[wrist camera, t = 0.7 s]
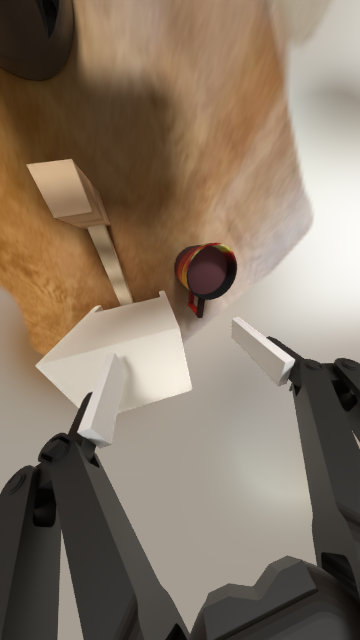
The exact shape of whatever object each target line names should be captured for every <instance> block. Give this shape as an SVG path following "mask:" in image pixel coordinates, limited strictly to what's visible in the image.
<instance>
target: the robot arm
mask: <svg viewBox="0 0 360 640" xmlns="http://www.w3.org/2000/svg"><path fill="white" fill-rule="evenodd" d="M72 38H73V7H72V0H0V67H2V68H3V69H5V70H7V71H9V72H11V73H13V74H15V75H17V76H19V77H22V78H26V79H30V80H44V79H48V78H50V77H52V76H54V75H55V74H56V73H58V72H59V71H60V70H61V68H62V67H63V66H64V64H65V62H66V60H67V58H68V55H69V52H70V49H71V44H72ZM232 338H233V339H234V341H235V342H236V343H237V344H238V345H239V346H240V347H241V348H242V349H243V350H244V351H245V352H246V353H247V354H248V355H249V356H250V357H251V358H252V359H253V361H254V362H255V363H256V364H257V365H258V366H259V367H260V368H261V369H262V370H263V371H264V372H265V373H266V374H267V375H268V377H269V378H270V379H271V380H272V381H273V382H274V383H275V384H276V385H277V386H281V385H284V384H286V383H287V381H288V379H289V380H290V381H291V382H292V384H291V386H290V389H289V391H291V390H292V391H293V397H294V403H295V409H296V415H297V421H298V427H299V433H300V438H301V444H302V451H303V456H304V463H305V469H306V474H307V480H308V486H309V493H310V499H311V505H312V511H313V520H312V534H313V542H314V548H315V555H316V561H317V566H316V565H314V564H311V563H308V562H305V561H303V560H300V559H296V558H293V557H290V556H285V557H283V558H281V559H279V560H277V561H275V562H273V563H271V564H269V565H268V566H267V568H266V570H265V571H264V572H263V574H262V575H261V577H260V578H259V579H258V581H257V582H256V584H255V585H254V586H252V587H250V586H243V585H236V584H227V585H225V586H223V587H220V588H218V589H216V590H214V591H212V592H210V593H209V594H208V596H207V599H206V602H205V603H204V605H203V606H202V608H201V610H200V612H199V613H198V616H197V618H196V621H195V623H194V626H193V628H192V631H191V633H189V632H188V630H187V628H186V626H185V624H184V622H183V620H182V618H181V616H180V614H179V612H178V610H177V608H176V606H175V604H174V602H173V600H172V598H171V597H170V595H169V594H168V592H167V591H166V590H165V589H164V588H163V587H162V586H161V584H160V582H159V581H158V579H157V577H156V575H155V573H154V571H153V569H152V567H151V565H150V563H149V561H148V558H147V556H146V554H145V552H144V550H143V548H142V546H141V544H140V542H139V540H138V538H137V536H136V534H135V532H134V530H133V528H132V526H131V524H130V522H129V520H128V518H127V516H126V514H125V511H124V509H123V507H122V506H121V503H120V502H119V499H118V497H117V495H116V493H115V491H114V489H113V487H112V485H111V483H110V481H109V479H108V477H107V475H106V473H105V471H104V469H103V467H102V465H101V463H100V460H99V458H98V456H97V454H96V453H95V452H94V451H95V448H96V446H97V447H99V448H103V447H106V446H109V445H111V443H112V438H113V433H114V428H115V423H116V417H117V412H118V407H119V402H120V397H121V391H122V386H123V381H124V376H125V371H126V370H125V368H124V366H123V365H122V363H121V361H120V360H119V358H118V357H117V355H116V353H112V354H108V355H107V357H106V360H105V362H104V365H103V368H102V370H101V373H100V375H99V378H98V380H97V383H96V385H95V388H94V391H93V392H90V393H88V394H87V395H86V397H85V398H84V399H83V401H82V403H81V406H80V408H79V410H78V412H77V415H76V417H75V419H74V422H73V424H72V426H71V428H70V431H69V433H68V435H67V434H65V433H59V434H57V435H55V436H54V437H52V438H51V439H50V440H49V441H48V442H47V443H46V444H45V446H44V447H43V448H42V450H41V452H40V454H39V457H38V461H39V462H41V463H40V464H39V465H37V466H36V467H33V466H31V465H29V466H25V467H23V468H22V469H20V470H19V471H18V472H16V473H15V474H14V475H13V476H12V478H11V479H10V480H9V481H8V482H7V484H6V485H5V487H4V488H3V490H2V492H1V494H0V640H57V633H58V606H59V578H60V577H59V576H60V551H61V529H62V533H63V539H64V544H65V549H66V554H67V558H68V564H69V569H70V574H71V579H72V583H73V588H74V593H75V598H76V603H77V608H78V613H79V618H80V623H81V628H82V633H83V638H84V640H360V449H359V447H358V444H357V442H356V440H355V437H354V435H353V433H354V434H355V436H356V437H357V439H358V440H359V442H360V364H359V363H358V362H355V361H353V360H350V359H345V358H338V359H336V360H335V362H334V363H324V364H323V363H322V364H321V363H319V362H317V361H314V360H311V359H304V358H302V357H301V356H300V355H298V354H297V353H295V352H294V351H292V350H291V349H290V348H288V347H286V346H285V345H284V344H282V343H281V342H280V341H278V340H277V339H275V338H272V337H270V336H269V337H264V336H263V335H262V334H260V333H259V332H258V331H256V330H255V329H254V328H252V327H251V326H250V325H248V324H247V323H246V322H244V321H243V320H242V319H240V318H239V317H237V318H233V319H232ZM352 431H353V432H352Z"/></svg>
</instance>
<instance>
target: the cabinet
mask: <svg viewBox="0 0 360 640" xmlns="http://www.w3.org/2000/svg"><path fill="white" fill-rule="evenodd" d="M159 295H160V297H158V298H154V299H150V300H146V301H142V302H137V303H133V304H129V305H125V306H121V307H116V308H112V309H108V310H103V308H102V306H101V305H99V306H95V307H94V308H93V309H92V310H91V311H90V312H89V313H88V314H87V315H86V316H85V317H84V318H83V319H82V320H81V321H80V322H79V323H78V324H77V325H76V326H75V327H74V328H73V329H72V330H71V331H70V332H69V333H68V334H67V335H66V336H65V337H64V338H63V339H62V340H61V341H60V342H59V343H58V344H57V345H56V346H55V347H54V348H52V349H51V350H50V351H49V352H48V353H47V354H46V355H45V356H44V357H43V358H42V359H41V360H40V361H39V362H38V363H37V364H36V367H37V368H38V369H39V370H40V371H41V372H42V373H43V374H44V375H45V376H46V377H47V378H48V379H49V380H50V381H51V382H52V383H53V384H54V385H55V386H56V387H58V388H59V389H60V390H61V391H62V392H63V393H64V394H65V395H66V396H67V397H68V398H69V399H70V400H71V401H72V402H73V403H74V404H75V405H76V406H77V407H78V408H80V406H81V403H82V401H83V399H84V398H85V397H86V395H87V394H88V393H90V392H93V391H94V388H95V385H96V383H97V380H98V378H99V375H100V373H101V370H102V368H103V365H104V362H105V360H106V357H107V355H108V354H112V353H116V355H117V357H118V358H119V360H120V361H121V363H122V365H123V366H124V368H125V370H126V371H125V376H124V381H123V386H122V391H121V397H120V402H119V407H118V412H117V414H119V413H122V412H125V411H128V410H131V409H134V408H137V407H141V406H144V405H147V404H150V403H153V402H156V401H159V400H162V399H166V398H169V397H172V396H175V395H178V394H181V393H185V392H187V391H191V390H192V385H191V381H190V376H189V371H188V367H187V362H186V357H185V353H184V348H183V343H182V338H181V334H180V329H179V326H178V323H177V321H176V318H175V316H174V313H173V311H172V308H171V306H170V303H169V301H168V298H167V296H166V293H165V291H164V290H163V291H159Z"/></svg>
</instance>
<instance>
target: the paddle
mask: <svg viewBox="0 0 360 640" xmlns="http://www.w3.org/2000/svg"><path fill="white" fill-rule="evenodd" d="M26 165H27V167H28V169H29V171H30V173H31V175H32V177H33V178H34V180H35V182H36V184H37V186H38V188H39V190H40V192H41V194H42V196H43V198H44V200H45V202H46V204H47V205H48V207H49V209H50V211H51V213H52V215H53V217H54V218H55V219H58V220H61V221H63V222H66V223H69V224H72V225H74V226H77V227H80V228H82V229H85V230H87V229H88V231H89V233H90V235H91V238H92V240H93V242H94V244H95V247H96V249H97V251H98V254H99V256H100V258H101V261H102V263H103V265H104V268H105V270H106V272H107V275H108V277H109V279H110V282H111V284H112V286H113V289H114V291H115V293H116V296H117V298H118V300H119V302H120V305H121V306H125V305H129V304H133V303H134V300H133V298H132V295H131V292H130V290H129V287H128V284H127V281H126V279H125V276H124V273H123V271H122V268H121V265H120V263H119V260H118V257H117V255H116V252H115V249H114V246H113V244H112V241H111V238H110V236H109V233H108V230H107V228H106V226H110V225H111V224H110V221H109V218H108V216H107V213H106V210H105V207H104V204H103V202H102V199H101V196H100V193H99V192H98V190H97V189H96V188H95V187H94V186H93V184H92V183H91V182H90V181H89V180H88V178H87V177H86V176H85V175H84V173H83V172H82V171H81V170H80V169H79V167H78V166H77V165H76V164H75V163H74V161H73V160H72V159H67V160H59V161H51V162H43V163H34V164H26Z"/></svg>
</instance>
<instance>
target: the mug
mask: <svg viewBox="0 0 360 640" xmlns="http://www.w3.org/2000/svg"><path fill="white" fill-rule="evenodd" d="M236 273H237V262H236V258H235V256H234V254H233V252H232V251H231V250H230V248H228V247H227V246H225V245H223V244H220V243H210V244H203V245H197V246H191V247H187V248H185V249H184V250H182V251H181V252H180V253H179V255H178V256H177V259H176V261H175V274H176V276H177V278H178V280H179V281H180V282H181V283H182V284H183V285H184V286H185V287H187V288H188V289H189V290H190V291H189V302H188V305H189V307H190V308H191V309H192V310H193V312H194V313H195V314H196V316H197V317H198V318H202V316H203V310H204V303H205V300H211V299H215V298H218V297H220V296H222V295H223V294H224V293H226V292H227V291H228V289H229V288H230V287H231V285H232V284H233V282H234V280H235V277H236ZM194 295H195V296H197V297H198V305H197V307H196V306H195V305H194V303H193V302H194Z"/></svg>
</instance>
